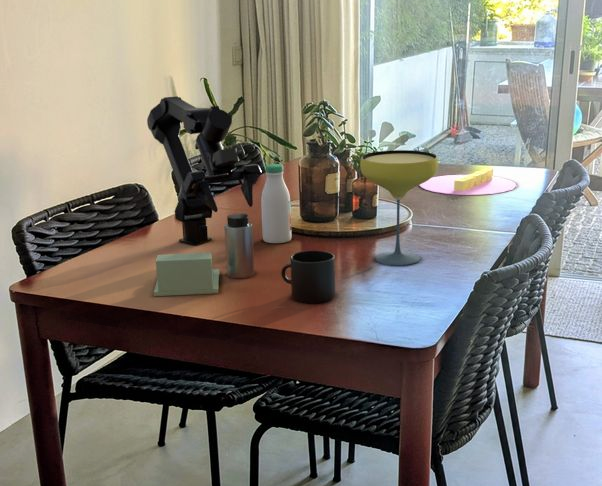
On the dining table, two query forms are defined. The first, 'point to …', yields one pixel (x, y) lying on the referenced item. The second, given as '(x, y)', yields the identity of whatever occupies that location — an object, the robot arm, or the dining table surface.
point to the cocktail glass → (398, 185)
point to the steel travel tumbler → (239, 246)
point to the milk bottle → (275, 207)
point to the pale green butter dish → (186, 274)
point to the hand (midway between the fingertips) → (234, 208)
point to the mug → (311, 276)
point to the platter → (469, 184)
